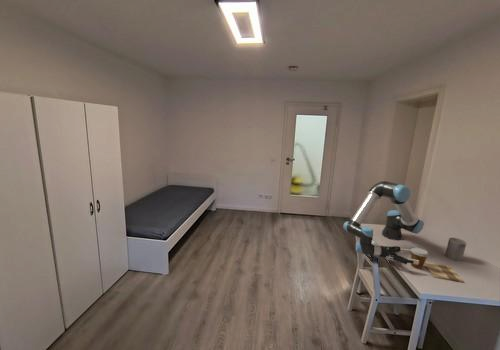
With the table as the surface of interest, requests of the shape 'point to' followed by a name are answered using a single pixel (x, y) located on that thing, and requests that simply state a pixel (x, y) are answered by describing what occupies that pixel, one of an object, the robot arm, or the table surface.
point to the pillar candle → (455, 249)
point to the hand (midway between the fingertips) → (414, 257)
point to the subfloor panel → (442, 272)
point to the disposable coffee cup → (418, 257)
